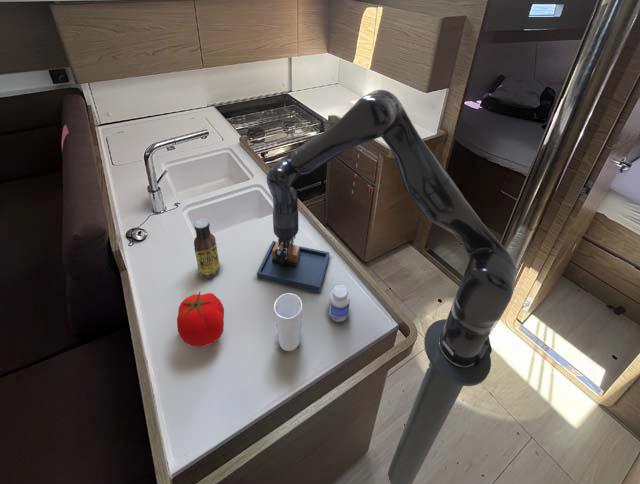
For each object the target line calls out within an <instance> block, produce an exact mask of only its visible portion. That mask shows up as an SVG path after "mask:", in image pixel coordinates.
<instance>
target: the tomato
mask: <svg viewBox="0 0 640 484" xmlns="http://www.w3.org/2000/svg"><path fill="white" fill-rule="evenodd" d="M224 318H225V307H224V305H223V303H222V301H221V300H220V298H219V297H217V296H216V294H215V293H212V292H207V293H203V294H201V291H199V292H198V293H193V294H191V295H189V296H187V297H185V298H184V299H183V300H182V302H180V304H179V306H178V311H177V317H176V326H177V333H178V335H179V337H180V339H181V340H182V341H183V342H184V343H185V344H187V345H188V346H190V347H205V346H208V345H212V344H214V343H215V342H217V341H218V340H219V339H220V338H221V336H222V334H223V332H224V329H225V328H224V327H225V321H224Z"/></svg>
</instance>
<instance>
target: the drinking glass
mask: <svg viewBox="0 0 640 484" xmlns="http://www.w3.org/2000/svg"><path fill="white" fill-rule="evenodd" d="M303 316H304V310H303V301H302V299H301V297H299V295H297V294H295V293H291V292H287V293H283V294H281V295H279V296H278V297H277V298H276V300H275V301H274V304H273V319H274V323H275V329H276V333H277V337H278V344H279V346H280V348H281V349H282V350H284V351H286V352H292V351H295V350H296V349H297V348H298V346H299V345H300V342H301V332H302V325H303V324H302V323H303Z"/></svg>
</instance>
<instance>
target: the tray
mask: <svg viewBox="0 0 640 484" xmlns="http://www.w3.org/2000/svg"><path fill="white" fill-rule="evenodd" d="M276 241H277V240H272V242H271V244H270V245H269V248H268V249H267V252H266V253H265V256H264V258H263V260H262V262H261V264H260V266H259V268H258V270H257V272H256V277H257V279H259V280H263V281H267V282H271V283H276V284H281V285H284V286H289V287H294V288H297V289H302V290H306V291H310V292H314V293H320V292H321V289H322V284H323V281H324V278H325V274H326V271H327V267H328V263H329V260H330V252H329V251H325V250H320V249H315V248H311V247H306V246H301V245H299V246H300V253H301V256H300V259H299V261H298V264H297V267H296V268H295V267H290V266H287V267H283V266H281V265H280V264H276V263H272V258H273V257H272V250H273V247H274V245H275V243H276Z"/></svg>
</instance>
